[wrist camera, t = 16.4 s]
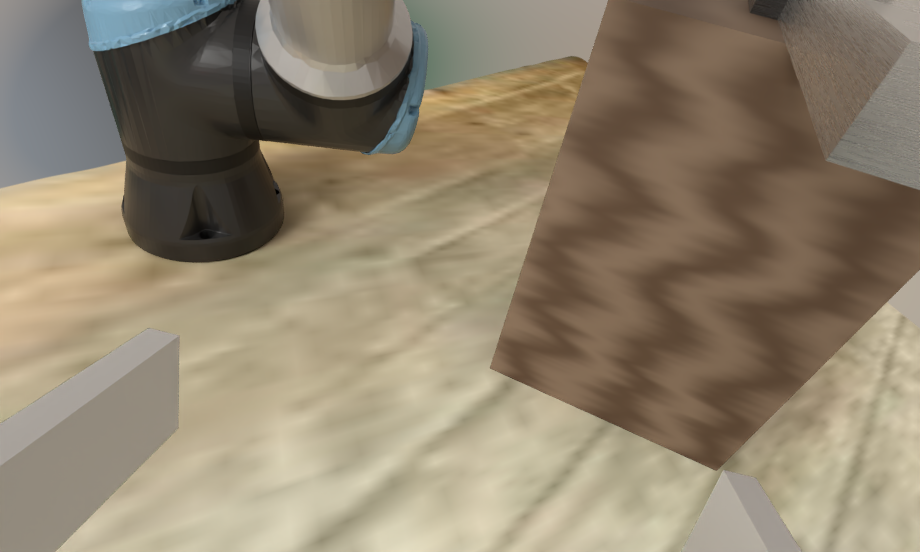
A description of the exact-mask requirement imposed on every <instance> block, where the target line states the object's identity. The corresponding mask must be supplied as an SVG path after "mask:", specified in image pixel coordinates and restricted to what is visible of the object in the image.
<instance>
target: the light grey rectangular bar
mask: <svg viewBox="0 0 920 552" xmlns="http://www.w3.org/2000/svg"><path fill="white" fill-rule="evenodd" d="M748 4H749V12H750V13H752V14H756V15H760V16H763V17H767V18H771V19H775V20H778V23H779V26H780V29H781V32H782V35H783V38H784V41H785V44H786V47H787V50H788V52H789V55H790V58H791V61H792V64H793V67H794V70H795V73H796V76H797V79H798V82H799V84H800V87H801V90H802V93H803V96H804V99H805V102H806V105H807V108H808V111H809V114H810V116H811V119H812V122H813V125H814V128H815V131H816V134H817V137H818V140H819V143H820V146H821V148H822V151H823V154H824V157H825V160H826V161H828V162H832V163H835V164H838V165H841V166H844V167H848V168H851V169H854V170H857V171H860V172H864V173H867V174H870V175H873V176H876V177H879V178H883V179H886V180H889V181H892V182H895V183H899V184H902V185H905V186H908V187H911V188H915V189H918V190H920V0H748Z"/></svg>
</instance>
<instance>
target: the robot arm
mask: <svg viewBox="0 0 920 552" xmlns="http://www.w3.org/2000/svg"><path fill="white" fill-rule="evenodd" d="M82 7H83V12H84V17H85V21H86V26H87V30H88V35H89V46H90V49H91V50H93V52H94V55H95V59H96V61H97V65H98V68H99V71H100V74H101V78H102V81H103V84H104V87H105V90H106V94H107V96H108V100H109V102H110V106H111V110H112V113H113V116H114V119H115V122H116V125H117V129H118V132H119V135H120V138H121V141H122V144H123V148H124V151H125V154H126V173H125V188H124V196H123V202H122V216H123V219H124V222H125V225H126V228H127V231H128V234H129V236H130V238H131V239H132V240H133V241H134V243H135V244H136V245H138V246H139V247H140V248H142V249H143V250H145V251H147V252H149V253H151V254H153V255H156V256H159V257H162V258H166V259H170V260H176V261H185V262H208V261H217V260H223V259H228V258H232V257H236V256H239V255H242V254H245V253H247V252H250V251H252V250H254V249H256V248H258V247H260V246H262V245H263V244H265V243H266V242H268V241H269V240H270V239H271V238H272V237H273V236H274V235H275V234H276V233H277V232H278V231H279V229H280V227H281V225H282V223H283V219H284V210H283V199H282V194H281V191H280V189H279V187H278V185H277V183H276V182H275V181H274V179H273V176H272V173H271V171H270V169H269V167H268V164H267V162H266V160H265V158H264V156H263V154H262V152H261V150H260V144H259V140H262V141H272V142H281V143H290V144H298V145H307V146H315V147H324V148H333V149H341V150H350V151H359V152H361V153H363V154H367V155H371V154H376V153H383V154H396V153H399V152H401V151H403V150H404V149H405V148H406V147H407V146H408V144H409V143H410V141H411V139H412V136H413V134H414V131H415V128H416V125H417V121H418V117H419V107H420V105H421V102H422V98H423V93H424V87H425V80H426V72H427V60H428V39H427V34H426V31H425V30H424V29H423V27H422V26H421V25H419V24H417V23H414V22H413V21H411V20H410V16H409V13H408V10H407V8H406V6H405V4H404V2H403V1H402V0H82ZM178 409H179V335H175V334H171V333H167V332H163V331H159V330H155V329H151V328H147V329H146V330H144V331H143V332H141V333H140V334H138V335H137V336H135V337H134V338H132V339H130V340H129V341H127V342H126V343H124V344H123V345H121V346H120V347H118V348H117V349H115V350H113V351H112V352H110V353H109V354H107V355H106V356H104V357H103V358H101V359H100V360H98V361H96V362H95V363H93V364H92V365H90V366H89V367H87V368H86V369H84V370H83V371H81V372H79V373H78V374H76V375H75V376H73V377H72V378H70V379H69V380H67V381H66V382H64V383H62V384H61V385H59V386H58V387H56V388H55V389H53V390H52V391H50V392H48V393H47V394H45V395H44V396H42V397H41V398H39V399H38V400H36V401H35V402H33V403H31V404H30V405H28V406H27V407H25V408H24V409H22V410H21V411H19V412H18V413H16V414H14V415H13V416H11V417H10V418H8V419H7V420H5V421H4V422H2V423H1V424H0V552H56V551H57V550H58V549H59V548H60V547H61V546H62V545H63V544H64V543H65V542H66V541H67V540H68V539H69V538H70V537H71V536H72V535H73V533H74V532H75V531H76V530H77V529H78V528H79V527H80V526H81V525H82V524H83V523H84V522H85V521H86V520H87V519H88V518H89V517H90V516H91V515H92V514H93V513H94V512H95V511H96V510H97V509H98V508H99V507H100V506H101V505H102V504H103V503H104V502H105V501H106V500H107V499H108V498H109V497H110V496H111V495H112V494H113V493H114V492H115V491H116V490H117V489H118V488H119V487H120V486H121V485H122V484H123V483H124V482H125V481H126V480H127V479H128V478H129V477H130V476H131V475H132V474H133V473H134V472H135V471H136V470H137V469H138V468H139V467H140V466H141V465H142V464H143V463H144V462H145V461H146V460H147V459H148V458H149V457H150V456H151V455H152V454H153V453H154V452H155V451H156V450H157V449H158V448H159V447H160V446H161V445H162V444H163V443H164V442H165V441H166V440H167V439H168V438H169V437H170V436H171V435H172V434H173V433H174V432H175V431H176V430H177V429H178ZM681 552H802V551H801V549H800V548H799V546H798V545H797V543H796V541H795V540H794V538H793V537H792V535H791V533H790V532H789V530H788V529H787V527H786V525H785V524H784V522H783V521H782V519H781V517H780V516H779V514H778V512H777V511H776V509H775V508H774V506H773V504H772V503H771V501H770V500H769V498H768V496H767V495H766V493H765V492H764V490H763V488H762V487H761V485H760V484H759V482H758V480H757V479H756V478H755V477H751V476H747V475H742V474H738V473H734V472H730V471H726V470H723V472H722V474H721V476H720V477H719V479H718V481H717V483H716V485H715V487H714V489H713V491H712V493H711V495H710V497H709V499H708V501H707V502H706V504H705V506H704V508H703V510H702V512H701V514H700V516H699V518H698V520H697V522H696V524H695V526H694V528H693V529H692V531H691V533H690V535H689V537H688V539H687V541H686V543H685V545H684V547H683V549H682V551H681Z"/></svg>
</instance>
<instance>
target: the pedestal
mask: <svg viewBox="0 0 920 552" xmlns="http://www.w3.org/2000/svg"><path fill="white" fill-rule="evenodd" d="M919 270H920V190H918V189H915V188H911V187H908V186H905V185H902V184H899V183H895V182H892V181H889V180H886V179H883V178H879V177H876V176H873V175H870V174H867V173H864V172H860V171H857V170H854V169H851V168H848V167H844V166H841V165H838V164H835V163H832V162H828V161H826V160H825V157H824V154H823V151H822V148H821V146H820V143H819V140H818V137H817V134H816V131H815V128H814V125H813V122H812V119H811V116H810V114H809V111H808V108H807V105H806V102H805V99H804V96H803V93H802V90H801V87H800V84H799V82H798V79H797V76H796V73H795V70H794V67H793V64H792V61H791V58H790V55H789V52H788V50H787V47H786V44H785V41H784V38H783V35H782V32H781V29H780V26H779V23H778V20H775V19H771V18H767V17H763V16H760V15H756V14H752V13H750V12H749V4H748V0H608V3H607V6H606V9H605V12H604V15H603V18H602V21H601V25H600V28H599V31H598V34H597V37H596V40H595V43H594V46H593V49H592V52H591V56H590V59H589V62H588V65H587V68H586V71H585V74H584V77H583V80H582V84H581V87H580V90H579V93H578V96H577V99H576V102H575V105H574V108H573V112H572V115H571V118H570V121H569V124H568V127H567V130H566V133H565V136H564V139H563V143H562V146H561V149H560V152H559V155H558V158H557V161H556V164H555V167H554V171H553V174H552V177H551V180H550V183H549V186H548V189H547V192H546V195H545V199H544V202H543V205H542V208H541V211H540V214H539V217H538V220H537V223H536V227H535V230H534V233H533V236H532V239H531V242H530V245H529V248H528V251H527V255H526V258H525V261H524V264H523V267H522V270H521V273H520V276H519V279H518V282H517V286H516V289H515V292H514V295H513V298H512V301H511V304H510V307H509V310H508V314H507V317H506V320H505V323H504V326H503V329H502V332H501V335H500V338H499V342H498V345H497V348H496V351H495V354H494V357H493V360H492V363H491V366H490V368H491V369H493V370H495V371H497V372H500V373H502V374H504V375H506V376H508V377H511V378H513V379H515V380H517V381H519V382H522V383H524V384H526V385H528V386H531V387H533V388H535V389H537V390H539V391H542V392H544V393H546V394H548V395H550V396H553V397H555V398H557V399H559V400H561V401H564V402H566V403H568V404H570V405H573V406H575V407H577V408H579V409H581V410H584V411H586V412H588V413H590V414H592V415H595V416H597V417H599V418H601V419H603V420H606V421H608V422H610V423H612V424H615V425H617V426H619V427H621V428H623V429H626V430H628V431H630V432H632V433H634V434H637V435H639V436H641V437H643V438H645V439H648V440H650V441H652V442H654V443H657V444H659V445H661V446H663V447H665V448H668V449H670V450H672V451H674V452H676V453H679V454H681V455H683V456H685V457H687V458H690V459H692V460H694V461H696V462H699V463H701V464H703V465H705V466H707V467H710V468H712V469H714V470H716V471H717V470H718V469H719V468H720V467H721V466H722V465H723V464H724V463H725V462H726V461H727V460H728V459H729V458H730V457H731V456H732V455H733V454H734V453H735V452H736V451H737V450H738V449H739V448H740V447H741V446H742V445H743V444H744V443H745V442H746V441H747V440H748V439H749V438H750V437H751V436H752V435H753V434H754V433H755V432H756V431H757V430H758V429H759V428H760V427H761V426H762V425H763V424H764V423H765V422H766V421H767V420H768V419H769V418H770V417H771V416H772V415H773V414H774V413H775V412H776V411H777V410H778V409H779V408H780V407H781V406H782V405H783V404H784V403H785V402H786V401H787V400H788V399H789V398H790V397H791V396H792V395H793V394H794V393H795V392H796V391H797V390H798V389H799V388H800V387H801V386H802V385H804V384H805V383H806V382H807V381H808V380H809V379H810V378H811V377H812V376H813V375H814V374H815V373H816V372H817V371H818V370H819V369H820V368H821V367H822V366H823V365H824V364H825V363H826V362H827V361H828V360H829V359H830V358H831V357H832V356H833V355H834V354H835V353H836V352H837V351H838V350H839V349H840V348H841V347H842V346H843V345H844V344H845V343H846V342H847V341H848V340H849V339H850V338H851V337H852V336H853V335H854V334H855V333H856V332H857V331H858V330H859V329H860V328H861V327H862V326H863V325H864V324H865V323H866V322H867V321H868V320H869V319H870V318H871V317H872V316H873V315H874V314H875V313H876V312H877V311H878V310H879V309H880V308H881V307H882V306H883V305H884V304H885V303H886V302H887V301H888V300H889V299H890V298H891V297H892V296H893V295H894V294H896V292H898V291H899V290H900V288H902V287H903V286H904V285H905V284H906V283H907V281H909V279H911V278H912V277H913V276H914V275H915V274H916V273H917V272H918V271H919Z"/></svg>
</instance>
